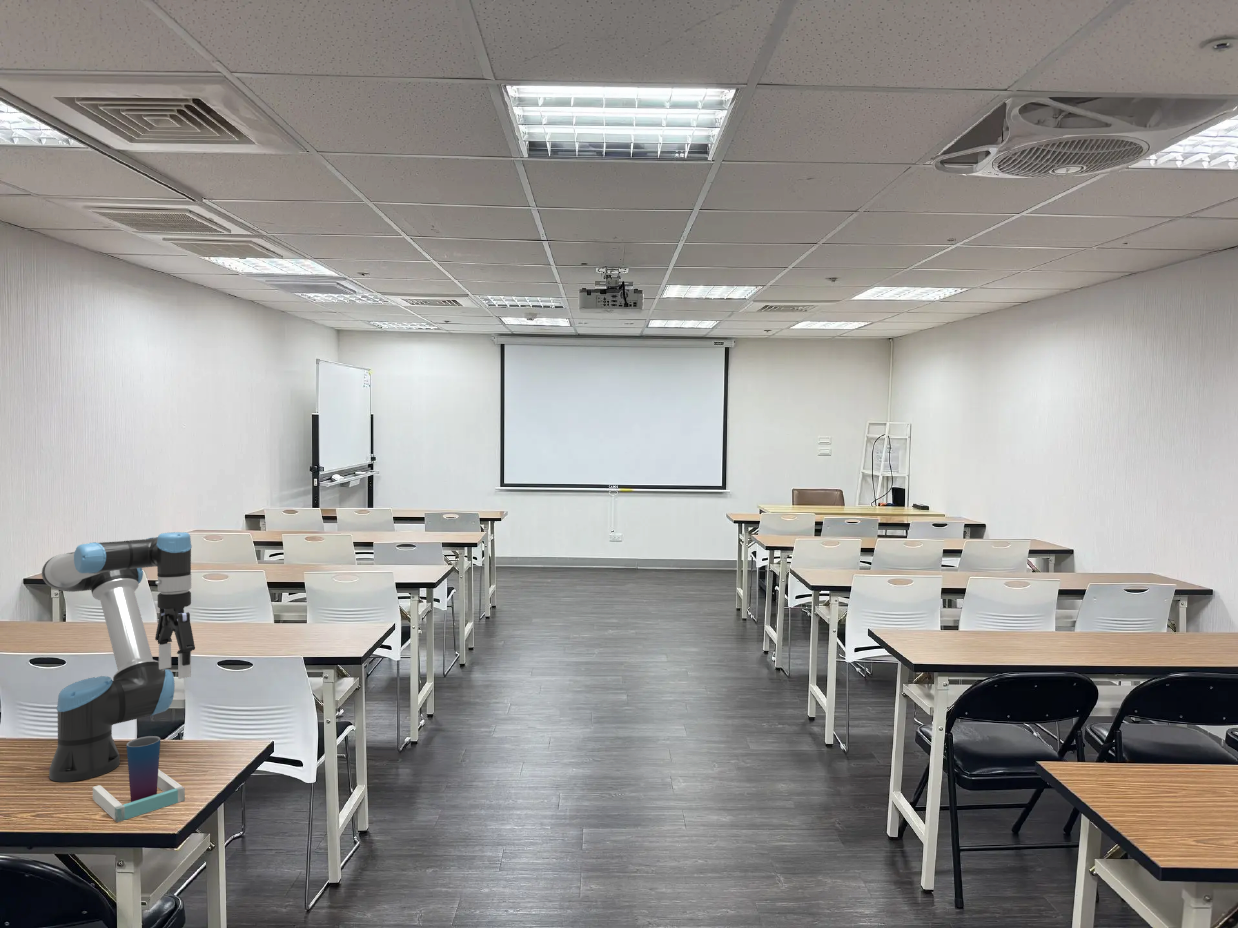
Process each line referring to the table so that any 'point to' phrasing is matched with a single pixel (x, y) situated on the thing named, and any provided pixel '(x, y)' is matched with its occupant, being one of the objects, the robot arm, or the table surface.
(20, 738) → the table surface
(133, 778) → the cup
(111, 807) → the bay
